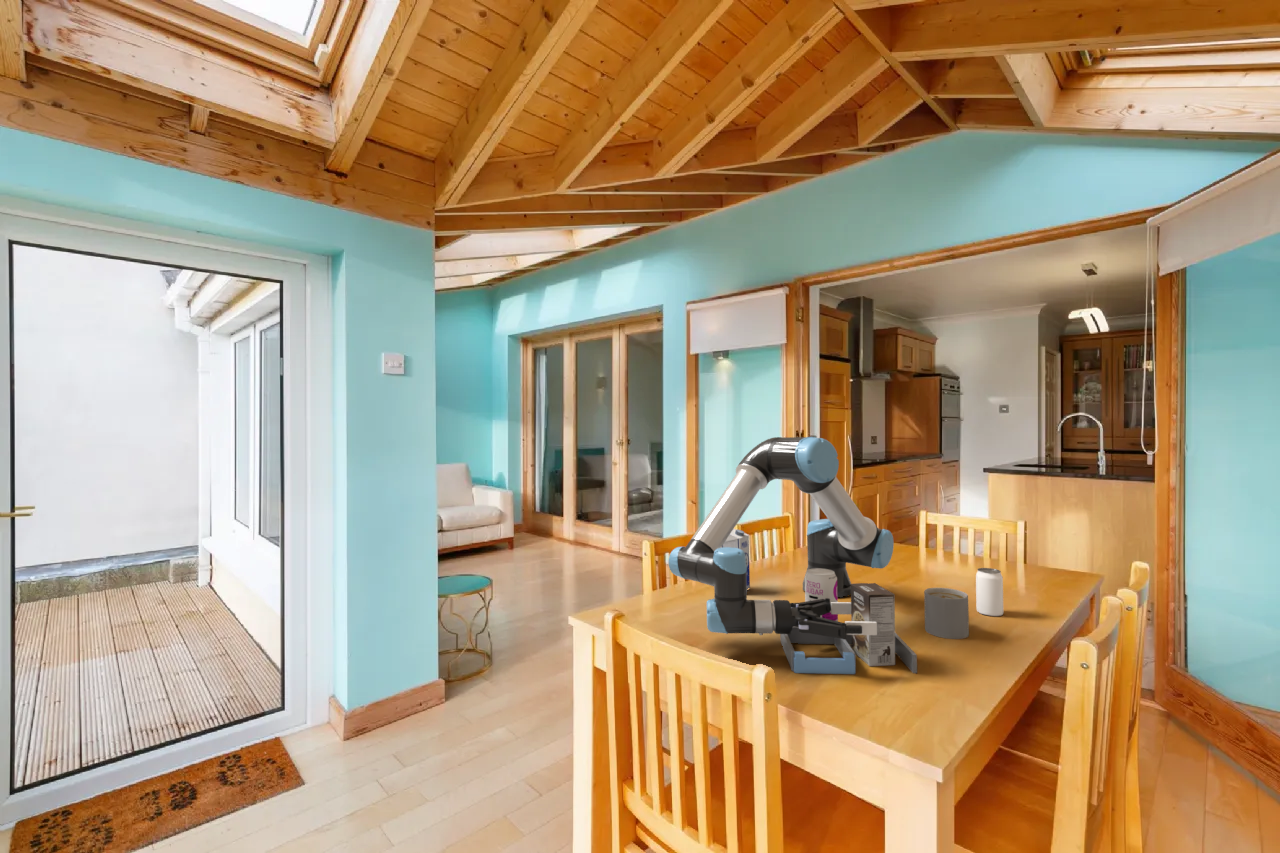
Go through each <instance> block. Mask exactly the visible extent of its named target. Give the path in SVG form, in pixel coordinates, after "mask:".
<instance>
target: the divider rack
mask: <svg viewBox="0 0 1280 853" xmlns="http://www.w3.org/2000/svg"><path fill="white" fill-rule="evenodd" d="M839 630H840V629H839ZM779 635H780V639H779V640H780V644H781V646H783V647H782V650H783V652H784V654H785V656H786V657H785V658H786V659H787V661H788V664H789V667H790V669H791V671H792V672H794V673H795V674H828V675H831V674H832V675H833V674H834V675H856V673H857V665H856V664H857V663H856V657H857V655H856V654H855V652H854V651H853V650H852V646H851V645H852V635H847V639H840V638H835V637H829V636H823V635H817V634H812V633H800V632H799V627H795V626H793V627H792V632H791V633H790V634H779ZM791 643H798V644H799V645H801V644H802V645H803V644H804V645H834V646H835V648H836V650H838V653H839V654H840V656H841V657H806V654H805V652H804V651H801V650H800V651H799V650H798V651H796V650H795V649H794V646H793V644H791ZM895 655H896V656H898V658H899V659H900V660H901V661H902V662H903V663H904V665H905V666H906V667H907V668H908V670H910V672H911V673H912V674H918V655H917V653H916V652H915V651H914V650H913V649H912V648H910V647H909V645H908V644H907V643H906V642H905V641H904V640H903V639H902V638H901V637H900V636H899V635H898V634H897V633H896V632H895Z"/></svg>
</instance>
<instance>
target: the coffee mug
mask: <svg viewBox="0 0 1280 853" xmlns="http://www.w3.org/2000/svg"><path fill="white" fill-rule="evenodd" d="M923 593H924V594H923V595H924V601H923V602H924V630H925V631H926V633H928V634H930V635H933V636H934V637H938V638H943V639H950V640H962V639H966V638H968V637H969V635H970V632H969V631H970V628H969V595H968V593H967V592H964V591H962V590H960V589H959V590H958V589H956V588H955V589H954V588H947V587H930V588H926V589H924V592H923Z"/></svg>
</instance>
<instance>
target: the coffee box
mask: <svg viewBox="0 0 1280 853" xmlns="http://www.w3.org/2000/svg"><path fill="white" fill-rule="evenodd" d="M850 585H851V595H850V602H851V614H850V616H851V617H850V618H851V620H850V621H865V622H876V623H877V635H852V644H851V648H852V650H853V651H854V652H855V654H856V656H858V657H859V658H860V660H862V661H863V662H864V663H865V664H866V665H867V666H868V667H880V666H881V667H882V666H895V665H896V653H895V633H896V619H895V618H896V611H895V610H896V607H895V606H896V605H895V604H896V603H895V601H896V600H895V597H896V596H895V593H893V592H891V591H890V590H888V589H886V588H884V587H882V585H880V584H877V583H876V582H874V583H869V582H868V583H867V582H865V583H864V582H863V583H862V582H861V583H860V582H858V583H851V584H850Z"/></svg>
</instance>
